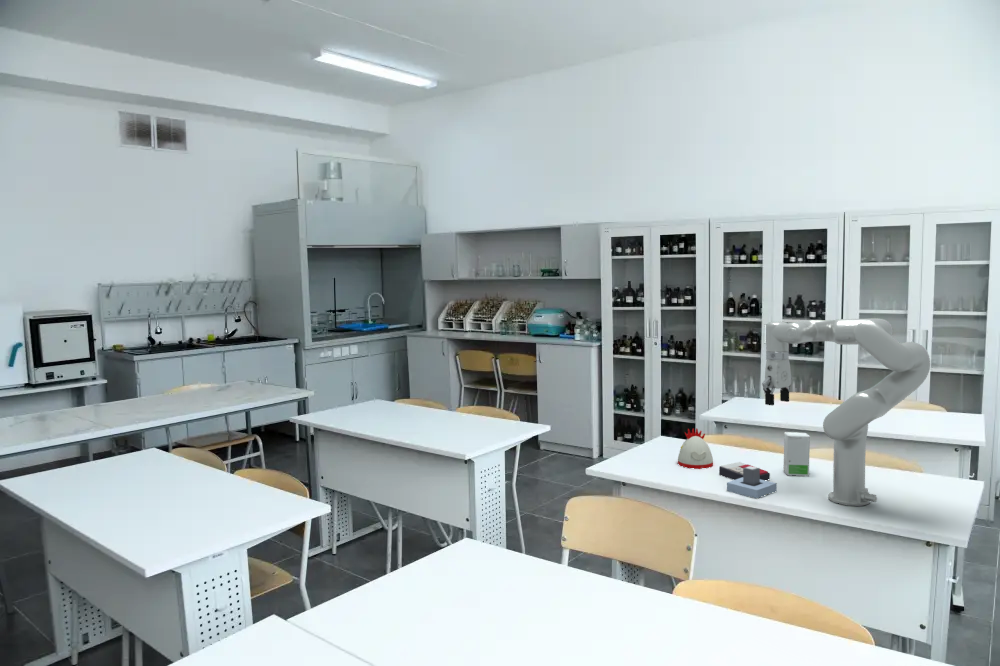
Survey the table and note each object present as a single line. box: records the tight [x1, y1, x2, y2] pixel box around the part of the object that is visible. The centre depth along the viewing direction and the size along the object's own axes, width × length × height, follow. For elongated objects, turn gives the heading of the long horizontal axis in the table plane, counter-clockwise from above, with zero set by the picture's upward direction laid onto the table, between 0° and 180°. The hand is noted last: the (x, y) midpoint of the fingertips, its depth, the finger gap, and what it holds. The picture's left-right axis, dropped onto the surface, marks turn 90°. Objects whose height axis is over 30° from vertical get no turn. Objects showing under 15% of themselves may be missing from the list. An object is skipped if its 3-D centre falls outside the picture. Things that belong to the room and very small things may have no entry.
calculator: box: [718, 461, 771, 481], centre depth 259 cm, size 11×4×15 cm
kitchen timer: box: [677, 428, 714, 470], centre depth 279 cm, size 14×14×15 cm
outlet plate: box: [726, 477, 778, 499], centre depth 243 cm, size 12×12×3 cm
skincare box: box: [782, 431, 811, 477], centre depth 261 cm, size 8×7×16 cm
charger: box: [743, 465, 761, 486], centre depth 242 cm, size 4×4×8 cm
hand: (777, 403), depth 246 cm, fingers open, 9 cm apart
